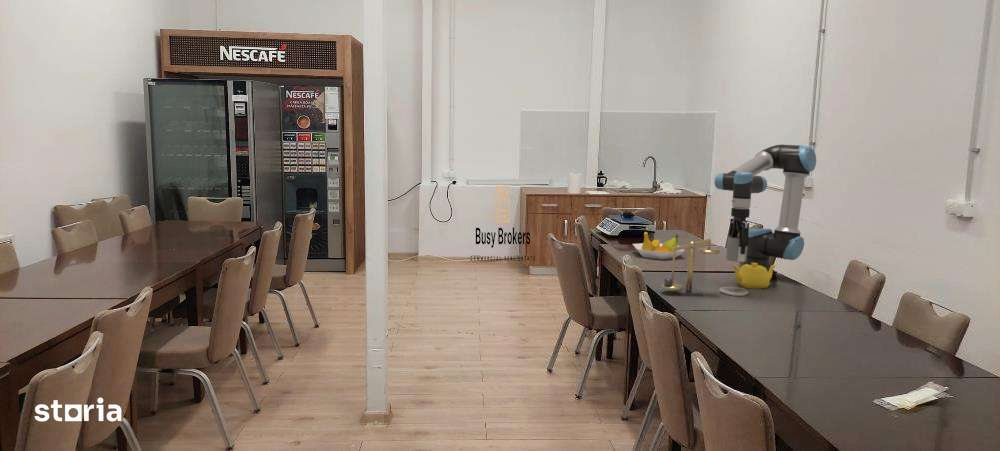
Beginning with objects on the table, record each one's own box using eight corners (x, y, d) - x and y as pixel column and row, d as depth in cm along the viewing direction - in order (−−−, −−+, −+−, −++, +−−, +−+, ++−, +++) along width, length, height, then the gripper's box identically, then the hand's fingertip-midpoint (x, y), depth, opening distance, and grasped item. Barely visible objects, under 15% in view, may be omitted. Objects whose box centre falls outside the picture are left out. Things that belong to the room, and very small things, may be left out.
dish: (740, 289, 319) (741, 287, 318) (752, 296, 307) (753, 293, 307) (715, 289, 317) (715, 286, 317) (726, 296, 306) (726, 293, 305)
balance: (711, 290, 315) (715, 237, 311) (719, 296, 306) (723, 240, 302) (658, 290, 312) (661, 236, 308) (664, 295, 303) (668, 240, 300)
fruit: (687, 262, 377) (689, 235, 375) (638, 260, 377) (640, 234, 375) (674, 251, 407) (676, 226, 404) (629, 250, 407) (630, 225, 405)
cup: (747, 262, 305) (749, 239, 303) (727, 261, 306) (729, 238, 305) (744, 258, 313) (746, 236, 311) (725, 257, 315) (727, 235, 313)
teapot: (765, 281, 337) (767, 259, 335) (782, 289, 322) (784, 266, 320) (721, 281, 335) (723, 258, 333) (735, 289, 320) (737, 265, 318)
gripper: (722, 204, 316) (718, 254, 320) (743, 210, 295) (738, 264, 299) (738, 204, 317) (734, 254, 320) (760, 211, 296) (755, 264, 300)
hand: (736, 259), depth 310 cm, fingers closed on cup, 8 cm apart
